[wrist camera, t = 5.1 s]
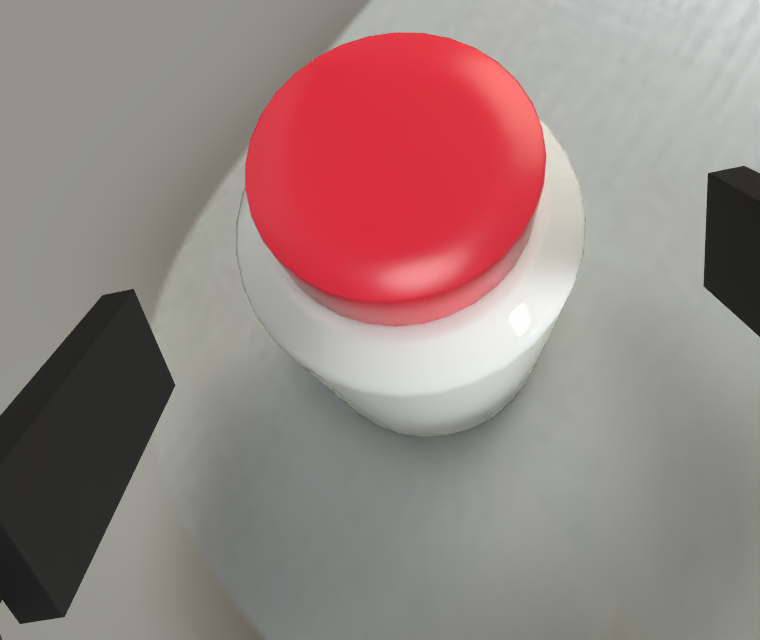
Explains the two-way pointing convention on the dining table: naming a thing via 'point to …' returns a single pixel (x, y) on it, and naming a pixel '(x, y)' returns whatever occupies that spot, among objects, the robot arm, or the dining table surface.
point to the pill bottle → (409, 230)
